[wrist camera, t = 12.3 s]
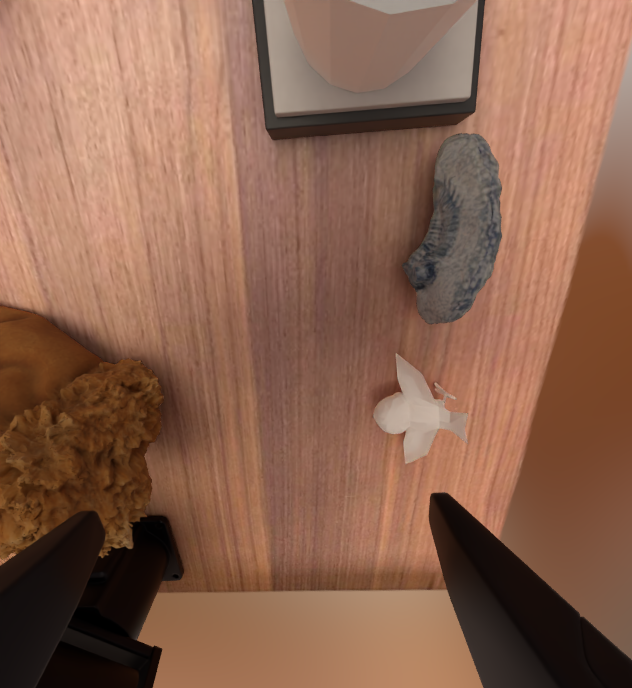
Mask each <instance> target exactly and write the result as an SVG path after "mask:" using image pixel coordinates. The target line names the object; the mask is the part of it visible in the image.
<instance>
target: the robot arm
mask: <svg viewBox="0 0 632 688" xmlns="http://www.w3.org/2000/svg"><path fill="white" fill-rule="evenodd" d="M429 523H430V527H431V531H432V535H433V539H434V542H435V546H436V550H437V554H438V557H439V561H440V565H441V569H442V573H443V576H444V580H445V583H446V587H447V590H448V593H449V596H450V599H451V602H452V604H453V607H454V610H455V613H456V615H457V618H458V621H459V623H460V626H461V629H462V631H463V634H464V637H465V639H466V642H467V645H468V647H469V650H470V653H471V655H472V658H473V661H474V663H475V666H476V669H477V672H478V674H479V677H480V680H481V682H482V685H483V687H484V688H632V660H631V659H630V658H629V657H628V656H627V655H626V654H624V653H623V652H622V651H621V650H620V649H619V648H618V647H616V646H615V645H614V644H613V643H612V642H611V641H610V640H608V639H607V638H606V637H605V636H604V635H603V634H602V633H601V632H600V631H598V630H597V629H596V628H595V627H594V626H593V625H592V624H591V623H590V622H589V621H588V620H586V619H585V618H584V617H580V614H579V612H577V611H576V610H575V609H574V608H573V607H572V606H571V605H570V604H569V603H567V601H565V600H564V599H563V598H562V597H561V596H560V595H559V594H558V593H557V592H556V591H554V590H553V589H552V588H551V587H550V586H549V585H548V584H547V583H546V582H545V581H543V580H542V579H541V578H540V577H539V576H538V575H537V574H536V573H535V572H533V570H531V569H530V568H529V567H528V566H527V565H526V564H525V563H524V562H523V561H522V560H521V559H519V558H518V557H517V556H516V555H515V554H514V553H513V552H512V551H511V550H510V549H508V548H507V547H506V546H505V545H504V544H503V543H502V542H501V541H500V540H499V539H498V538H496V537H495V536H494V535H493V534H492V533H491V532H490V531H489V530H488V529H487V528H485V527H484V526H483V525H482V524H481V523H480V522H479V521H478V520H477V519H476V518H475V517H473V516H472V515H471V514H470V513H469V512H468V511H467V510H466V509H465V508H464V507H462V506H461V505H460V504H459V503H458V502H457V501H456V500H455V499H454V498H453V497H452V496H450V495H449V494H448V493H445V492H442V493H432V494H431V496H430V506H429ZM130 524H132V525H133V527H131V526H130V525H129V526H130V528H131V529H132V542H133V548H132V549H128V548H127V547H126V546H124V547H121V548H115V547H112V546H110V547H111V550H110V551H107V552H108V554H109V555H104V557H103V558H101V556H99V554H100V551H101V549H102V546H103V544H104V541H105V536H106V533H105V529H104V527H103V524H102V522H101V520H100V517H99V515H98V513H97V512H96V511H80V512H78V513H76V514H74V515H73V516H72V517H70V518H69V519H67V520H66V521H64V522H63V523H61V524H60V525H59V526H57V527H56V528H54V529H53V530H51V531H50V532H48V533H47V534H46V535H44V536H43V537H41V538H40V539H38V540H37V541H35V542H34V543H33V544H31V545H30V546H28V547H27V548H25V549H24V550H22V551H21V552H20V553H18V554H17V555H15V556H14V557H12V558H11V559H9V560H8V561H7V562H5V563H4V564H2V565H1V566H0V688H153V684H154V680H155V676H156V672H157V668H158V664H159V660H160V656H161V652H162V648H159V647H157V646H154V647H151V646H149V645H147V644H144V643H142V642H139V641H137V639H138V636H139V634H140V631H141V629H142V627H143V624H144V622H145V620H146V617H147V615H148V613H149V610H150V608H151V606H152V603H153V601H154V598H155V596H156V594H157V592H158V589H159V587H160V584H161V582H162V581H175V580H180V579H181V578H182V576H183V573H184V570H183V567H182V564H181V561H180V558H179V554H178V551H177V548H176V545H175V542H174V538H173V535H172V532H171V529H170V526H169V522H168V520H167V519H166V518H165V517H140V522H139V521H135V522H130Z"/></svg>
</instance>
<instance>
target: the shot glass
mask: <svg viewBox="0 0 632 688" xmlns="http://www.w3.org/2000/svg"><path fill="white" fill-rule="evenodd" d="M476 1H477V0H284V3H285V6H286V10H287V13H288V16H289V19H290V23H291V26H292V29H293V32H294V35H295V37H296V39H297V41H298V43H299V45H300V47H301V49H302V52H303V54H304V56H305V58H306V60H307V62H308V64H309V65H310V66H311V67H312V68H313V69H314V70H315V71H316V72H317V73H318V74H320V75H321V76H322V77H323V78H324V79H325V80H326V81H327V82H328V83H329V84H330V85H333V86H336V87H339V88H342V89H345V90H348V91H352V92H355V93H361V92H367V91H373V90H379V89H385V88H386V87H388V86H389V85H390V84H392V83H393V82H395V81H396V80H398V79H399V78H401V77H402V76H404V75H405V74H407V73H408V72H410V70H411V69H412V68H413V67H414V66H415V65H416V64H417V63H418V62H419V61H420V60H421V59H422V58H423V57H424V56H425V55H426V54H427V53H428V51H429V50H430V49H431V48H432V47H433V46H434V45H435V44H436V43H437V42H438V41H439V40H440V39H441V38H442V37H443V36H444V35H445V34H446V32H447V31H448V30H449V29H450V28H451V27H452V26H453V25H454V24H455V23H456V22H457V21H458V20H459V19H460V18H461V17H462V16H463V15H464V14H465V12H466V11H467V10H468V9H469V8H470V7H471V6H472V5H473V4H474V3H475V2H476Z"/></svg>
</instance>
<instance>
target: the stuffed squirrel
mask: <svg viewBox="0 0 632 688" xmlns="http://www.w3.org/2000/svg"><path fill="white" fill-rule="evenodd" d="M141 362H142V361H141V360H140V361H133V360H131V359H129V358H128V359H126V360H123V359H122V360H120V361H119V363H117V364H116V365H114V364H113V363H111V364H110V363H108V362H104V361H103V360H102V359H100V358H99V357H98V356H97V355H95V354H93V353H91V352H89V351H88V350H87V349H86V348H84V347H83V346H81V345H80V344H79V343H78V342H76V341H75V340H73V339H72V338H71V337H69V336H68V335H67V334H65V333H64V332H63V331H61V330H60V329H58V328H57V327H55V326H54V325H53V324H52V323H50V322H49V321H48V320H46V319H45V318H43V317H41V316H39V315H36V314H33V313H29V312H26V311H22V310H18V309H13V308H9V307H5V306H0V558H1V559H2V560H3V559H5V558H7V557H8V555H9V554H11V553H14V552H15V553H16V554H18V553H20V552H21V551H22V550H24V549H25V548H27V547H28V546H30V545H31V544H33V543H34V542H35V541H37V540H38V539H40V538H41V537H43V536H44V535H46V534H47V533H48V532H50V531H51V530H53V529H54V528H56V527H57V526H59V525H60V524H61V523H63V522H64V521H66V520H67V519H69V518H70V517H72V516H73V515H74V514H76V513H78V512H80V511H96V512H97V513H98V515H99V517H100V520H101V522H102V524H103V527H104V529H105V533H106V536H105V541H104V544H103V546H102V549H101V551H100V554H99V556H101V558H103V557H104V555H109V554H108V552H107V551H110V550H111V547H110V546H112V547H115V548H121V547H124V546H126V547H127V548H128V549H132V548H133V542H132V529H131V528H130V526H131V527H133V525H132V524H130V522H135V521H139V522H140V517H147V515H146V514H145V511H144V510H145V509H146V506H147V505H148V503H149V502H150V495H151V491H152V485H151V483H152V479H151V478H150V476H149V473H148V468H147V464H146V460H145V457H144V456H145V453H146V451H147V448H148V446H149V443H152V442H155V440H156V438H157V435H159V434H160V432H159V431H160V429H161V427H162V425H161V422H160V421H161V416H162V415H161V412H160V410H159V405H160V404H162V403H163V401H164V398H163V394H161V393H160V392H161V386H160V385H159V384H158V382H159V381H158V378H157V377H156V376H155V375H154V374H153V371H152V370H151V369H147V367H145V366H144V365H143V364H142V363H141ZM129 525H130V526H129Z"/></svg>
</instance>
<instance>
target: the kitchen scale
mask: <svg viewBox="0 0 632 688" xmlns="http://www.w3.org/2000/svg"><path fill="white" fill-rule="evenodd" d="M252 5H253V14H254V24H255V33H256V42H257V51H258V61H259V70H260V79H261V89H262V98H263V107H264V117H265V126H266V130H267V132H268V133H269V135H270V137H271V139H273V140H275V139H287V138H299V137H311V136H323V135H335V134H347V133H359V132H371V131H383V130H396V129H408V128H420V127H432V126H444V125H456V124H458V123H459V122H461V121H462V120H464V119H465V118H467V117H468V116H470V115H471V114H473V113H474V112H475V109H476V97H477V86H478V74H479V63H480V51H481V39H482V28H483V16H484V5H485V0H477V1H476V2H475V3H474V4H473V5H472V6H471V7H470V8H469V9H468V10H467V11H466V12H465V14H464V15H463V16H462V17H461V18H460V19H459V20H458V21H457V22H456V23H455V24H454V25H453V26H452V27H451V28H450V29H449V30H448V31H447V32H446V34H445V35H444V36H443V37H442V38H441V39H440V40H439V41H438V42H437V43H436V44H435V45H434V46H433V47H432V48H431V49H430V50H429V51H428V53H427V54H426V55H425V56H424V57H423V58H422V59H421V60H420V61H419V62H418V63H417V64H416V65H415V66H414V67H413V68H412V69H411V70H410V72H408V73H407V74H405V75H404V76H402V77H401V78H399V79H398V80H396V81H395V82H393V83H392V84H390V85H389V86H388V87H386V88H385V89H379V90H373V91H367V92H361V93H355V92H352V91H348V90H345V89H342V88H339V87H336V86H333V85H330V84H329V83H328V82H327V81H326V80H325V79H324V78H323V77H322V76H321V75H320V74H318V73H317V72H316V71H315V70H314V69H313V68H312V67H311V66H310V65H309V64H308V62H307V60H306V58H305V56H304V54H303V52H302V49H301V47H300V45H299V43H298V41H297V39H296V37H295V35H294V32H293V29H292V26H291V23H290V19H289V16H288V13H287V10H286V6H285V3H284V0H252Z"/></svg>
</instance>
